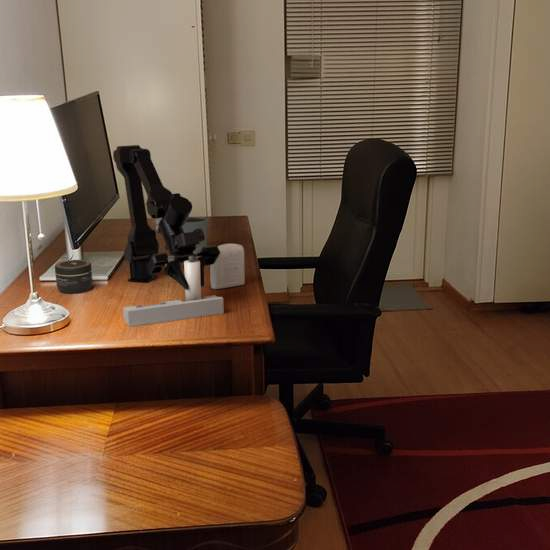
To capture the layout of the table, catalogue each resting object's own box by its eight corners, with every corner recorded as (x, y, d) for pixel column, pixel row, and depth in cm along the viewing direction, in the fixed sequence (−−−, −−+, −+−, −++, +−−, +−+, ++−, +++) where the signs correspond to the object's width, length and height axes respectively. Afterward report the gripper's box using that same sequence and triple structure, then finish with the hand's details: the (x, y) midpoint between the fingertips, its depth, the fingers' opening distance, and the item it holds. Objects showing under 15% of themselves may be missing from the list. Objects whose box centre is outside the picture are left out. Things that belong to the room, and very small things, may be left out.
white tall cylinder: (188, 314, 174) (186, 258, 170) (184, 309, 177) (181, 255, 173) (203, 311, 175) (201, 256, 171) (199, 307, 179) (197, 253, 175)
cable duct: (129, 326, 165) (128, 311, 164) (123, 318, 171) (122, 303, 170) (223, 313, 174) (223, 298, 173) (215, 305, 180) (215, 291, 179)
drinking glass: (184, 258, 227) (182, 223, 224) (175, 252, 236) (173, 217, 233) (213, 255, 231) (211, 220, 228) (203, 249, 240) (202, 215, 237)
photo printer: (239, 281, 201) (238, 240, 198) (247, 284, 198) (246, 243, 195) (208, 287, 196) (207, 245, 193) (215, 290, 193) (214, 248, 189)
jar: (76, 282, 202) (73, 257, 199) (100, 287, 197) (98, 261, 194) (49, 291, 193) (46, 265, 191) (74, 296, 188) (72, 270, 186)
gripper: (148, 223, 168) (170, 276, 162) (215, 214, 178) (238, 265, 172) (138, 248, 177) (158, 299, 171) (202, 238, 186) (223, 287, 181)
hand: (195, 287), depth 173 cm, fingers closed on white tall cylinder, 4 cm apart
